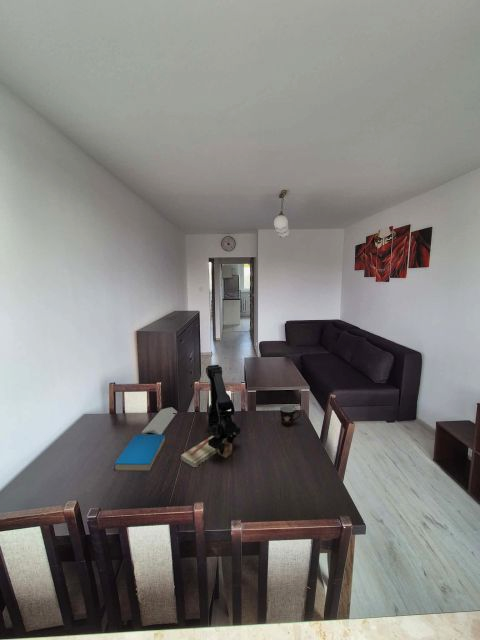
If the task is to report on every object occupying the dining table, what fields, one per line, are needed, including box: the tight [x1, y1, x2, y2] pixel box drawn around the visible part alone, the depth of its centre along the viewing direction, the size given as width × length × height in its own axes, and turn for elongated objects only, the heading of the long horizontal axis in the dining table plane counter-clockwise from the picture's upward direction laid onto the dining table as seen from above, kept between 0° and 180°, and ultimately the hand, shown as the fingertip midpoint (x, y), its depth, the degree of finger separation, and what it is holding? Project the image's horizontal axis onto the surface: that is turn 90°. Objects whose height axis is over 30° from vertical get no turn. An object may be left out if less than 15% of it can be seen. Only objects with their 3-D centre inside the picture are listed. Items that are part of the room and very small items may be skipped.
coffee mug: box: [279, 405, 301, 428], centre depth 168 cm, size 12×9×10 cm
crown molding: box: [140, 406, 178, 435], centre depth 174 cm, size 29×12×4 cm, turn 174°
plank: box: [180, 435, 218, 468], centre depth 142 cm, size 22×10×2 cm, turn 141°
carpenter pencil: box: [190, 439, 208, 455], centre depth 142 cm, size 14×1×1 cm, turn 149°
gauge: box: [217, 440, 233, 459], centre depth 141 cm, size 5×5×6 cm
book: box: [113, 433, 166, 472], centre depth 141 cm, size 17×4×25 cm
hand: (225, 451), depth 141 cm, fingers closed on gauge, 5 cm apart
